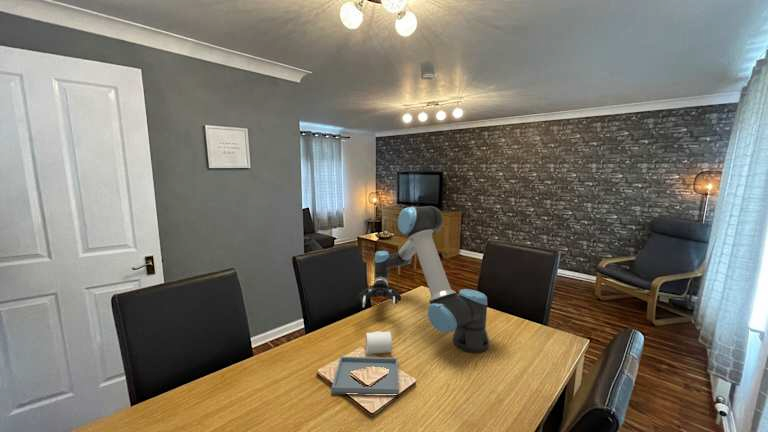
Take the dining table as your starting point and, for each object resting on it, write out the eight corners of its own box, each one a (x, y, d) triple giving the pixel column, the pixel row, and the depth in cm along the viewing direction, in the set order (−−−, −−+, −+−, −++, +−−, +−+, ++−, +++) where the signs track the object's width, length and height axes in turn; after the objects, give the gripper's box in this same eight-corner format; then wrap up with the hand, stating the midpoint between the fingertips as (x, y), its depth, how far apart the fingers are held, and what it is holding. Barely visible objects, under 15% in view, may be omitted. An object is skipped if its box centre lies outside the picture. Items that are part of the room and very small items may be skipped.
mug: (392, 356, 120) (392, 337, 119) (367, 358, 119) (367, 339, 118) (387, 340, 132) (387, 323, 131) (364, 341, 131) (364, 324, 130)
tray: (397, 364, 115) (397, 358, 115) (398, 396, 99) (398, 389, 98) (340, 362, 116) (340, 356, 116) (331, 394, 99) (331, 387, 99)
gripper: (404, 294, 155) (406, 313, 134) (356, 292, 155) (350, 312, 134) (405, 280, 154) (407, 297, 133) (356, 279, 154) (350, 296, 133)
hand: (378, 305), depth 133 cm, fingers open, 13 cm apart
